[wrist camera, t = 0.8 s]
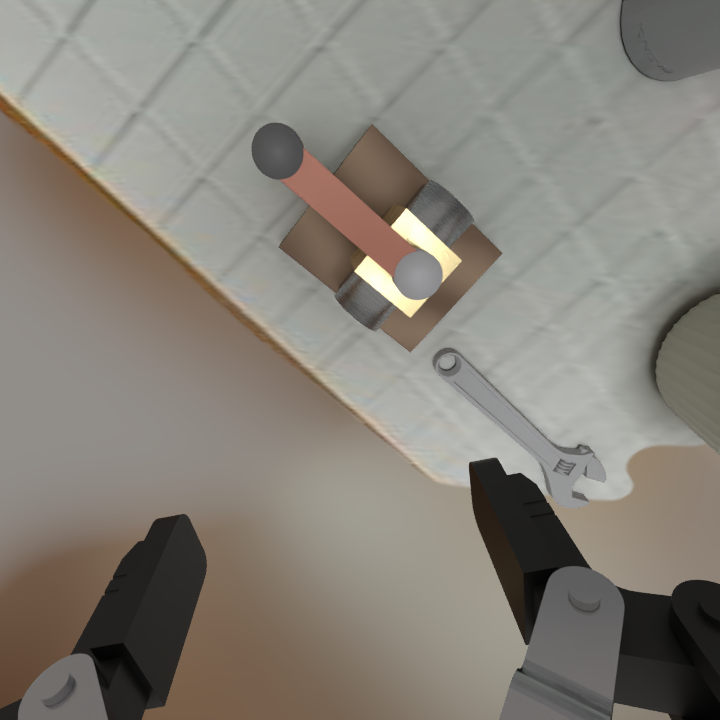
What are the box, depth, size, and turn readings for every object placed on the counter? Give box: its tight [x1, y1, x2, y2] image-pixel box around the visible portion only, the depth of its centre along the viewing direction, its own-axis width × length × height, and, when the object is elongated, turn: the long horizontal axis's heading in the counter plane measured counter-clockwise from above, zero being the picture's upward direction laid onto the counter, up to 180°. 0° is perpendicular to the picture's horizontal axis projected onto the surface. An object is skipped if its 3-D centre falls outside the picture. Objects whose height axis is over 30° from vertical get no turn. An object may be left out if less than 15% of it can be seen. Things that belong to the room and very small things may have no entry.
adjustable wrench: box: [433, 348, 606, 508], centre depth 43 cm, size 25×6×2 cm, turn 42°
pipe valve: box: [335, 180, 474, 331], centre depth 30 cm, size 10×5×8 cm, turn 140°
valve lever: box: [252, 123, 443, 300], centre depth 25 cm, size 3×13×3 cm, turn 50°
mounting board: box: [279, 125, 502, 352], centre depth 35 cm, size 11×14×2 cm
